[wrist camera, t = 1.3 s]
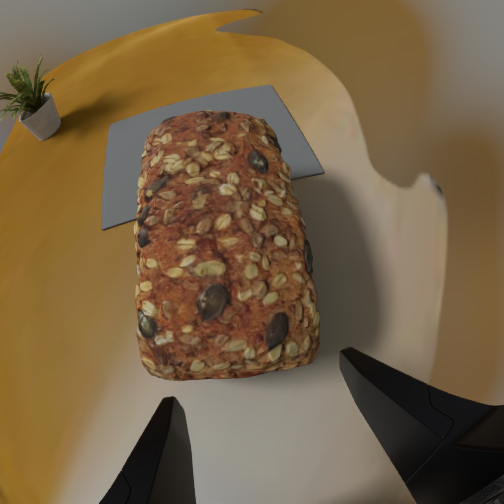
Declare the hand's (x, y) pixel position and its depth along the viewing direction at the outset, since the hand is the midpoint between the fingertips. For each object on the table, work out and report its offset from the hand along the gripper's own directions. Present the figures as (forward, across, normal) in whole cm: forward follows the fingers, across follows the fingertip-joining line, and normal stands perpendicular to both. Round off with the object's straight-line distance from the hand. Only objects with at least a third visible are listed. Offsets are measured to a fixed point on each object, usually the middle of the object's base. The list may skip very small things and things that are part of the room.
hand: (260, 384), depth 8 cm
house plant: (+39, +27, -21) cm, 52 cm away
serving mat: (+27, 0, -9) cm, 28 cm away
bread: (+16, 0, +2) cm, 16 cm away
